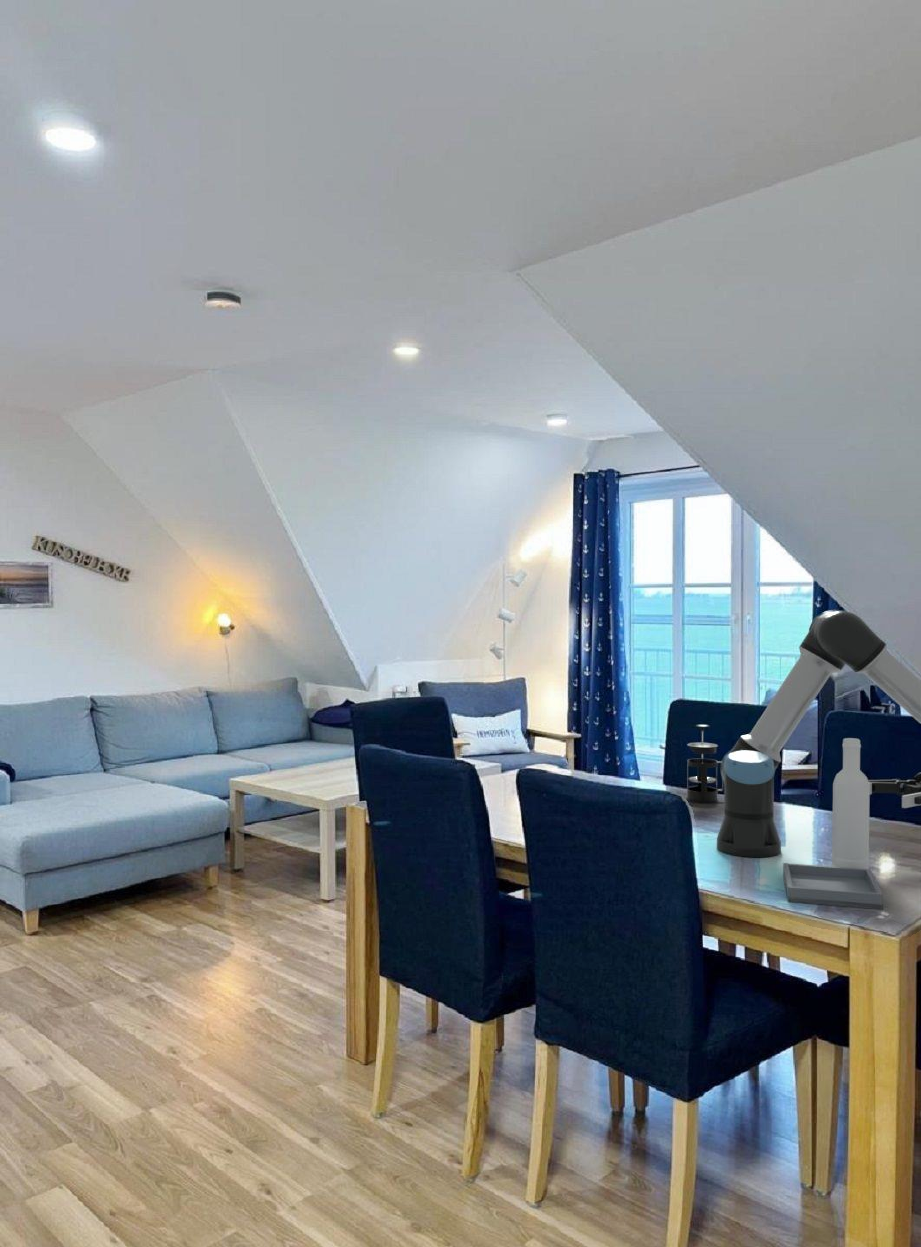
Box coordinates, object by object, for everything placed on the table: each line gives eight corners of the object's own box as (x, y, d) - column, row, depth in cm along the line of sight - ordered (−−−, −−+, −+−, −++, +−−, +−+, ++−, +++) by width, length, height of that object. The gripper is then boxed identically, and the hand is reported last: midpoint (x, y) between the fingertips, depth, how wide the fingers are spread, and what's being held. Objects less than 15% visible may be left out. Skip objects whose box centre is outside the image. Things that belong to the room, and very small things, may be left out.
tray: (787, 902, 195) (788, 887, 194) (783, 876, 212) (783, 863, 212) (883, 909, 190) (883, 894, 190) (870, 882, 207) (870, 869, 207)
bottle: (877, 873, 214) (878, 740, 213) (847, 876, 212) (848, 742, 210) (853, 863, 221) (854, 735, 220) (824, 866, 219) (825, 737, 218)
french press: (685, 803, 285) (686, 726, 284) (682, 796, 295) (682, 722, 294) (726, 803, 284) (726, 727, 283) (721, 797, 293) (721, 722, 292)
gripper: (984, 811, 220) (926, 823, 209) (889, 792, 242) (832, 802, 231) (984, 779, 219) (926, 789, 209) (889, 763, 241) (832, 771, 231)
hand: (877, 796), depth 220 cm, fingers open, 13 cm apart
